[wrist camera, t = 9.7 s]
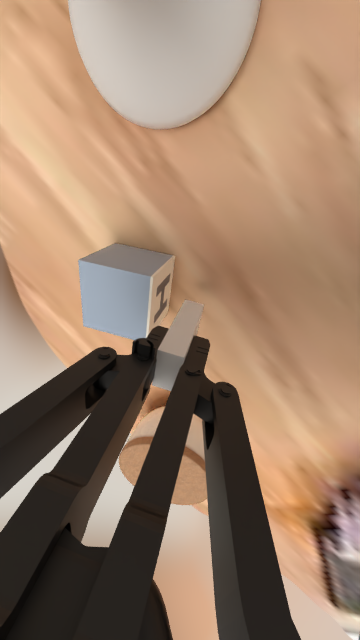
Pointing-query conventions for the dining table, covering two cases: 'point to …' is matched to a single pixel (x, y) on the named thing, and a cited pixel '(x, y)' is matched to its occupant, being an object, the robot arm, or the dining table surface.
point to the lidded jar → (192, 465)
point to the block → (125, 290)
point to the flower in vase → (162, 54)
